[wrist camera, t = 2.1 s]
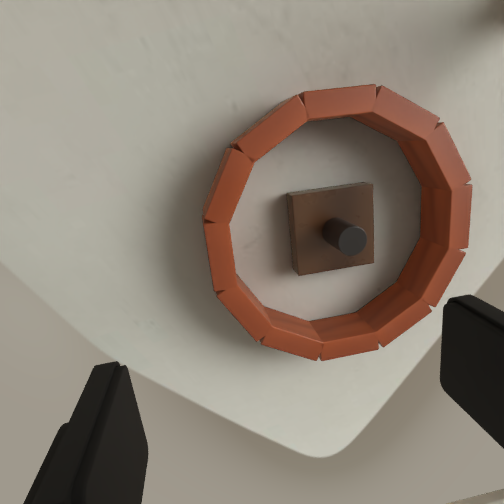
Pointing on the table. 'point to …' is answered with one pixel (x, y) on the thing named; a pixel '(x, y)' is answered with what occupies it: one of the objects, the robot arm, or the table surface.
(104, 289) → the table surface
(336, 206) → the post
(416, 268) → the hoop
